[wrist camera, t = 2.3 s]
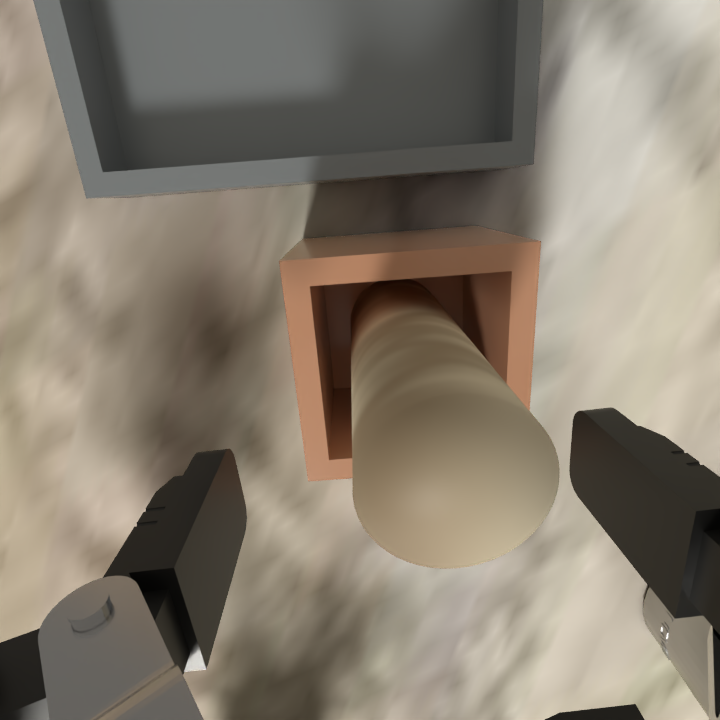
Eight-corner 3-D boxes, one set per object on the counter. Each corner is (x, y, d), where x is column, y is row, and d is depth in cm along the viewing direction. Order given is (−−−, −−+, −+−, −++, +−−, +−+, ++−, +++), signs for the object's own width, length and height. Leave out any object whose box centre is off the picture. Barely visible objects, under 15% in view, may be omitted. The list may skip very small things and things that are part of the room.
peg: (439, 273, 19) (568, 385, 8) (440, 360, 21) (551, 561, 9) (346, 280, 19) (343, 402, 8) (354, 367, 21) (360, 574, 9)
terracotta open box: (476, 225, 19) (540, 241, 13) (473, 385, 22) (525, 465, 16) (302, 238, 20) (279, 261, 13) (320, 396, 22) (308, 481, 16)
